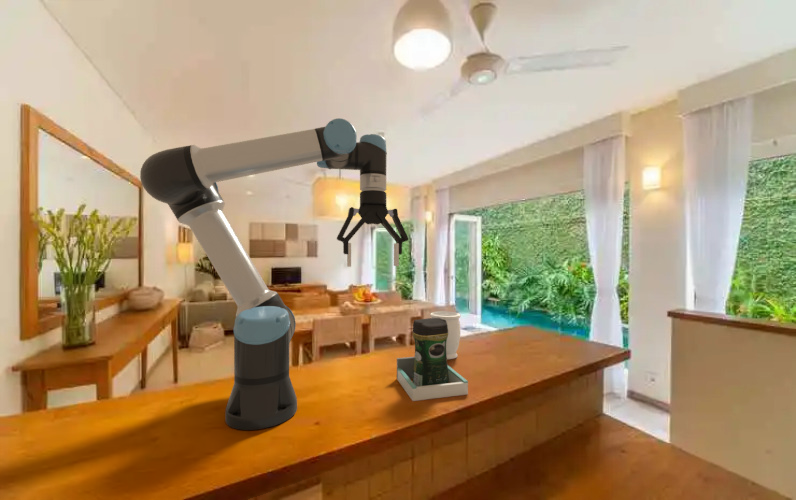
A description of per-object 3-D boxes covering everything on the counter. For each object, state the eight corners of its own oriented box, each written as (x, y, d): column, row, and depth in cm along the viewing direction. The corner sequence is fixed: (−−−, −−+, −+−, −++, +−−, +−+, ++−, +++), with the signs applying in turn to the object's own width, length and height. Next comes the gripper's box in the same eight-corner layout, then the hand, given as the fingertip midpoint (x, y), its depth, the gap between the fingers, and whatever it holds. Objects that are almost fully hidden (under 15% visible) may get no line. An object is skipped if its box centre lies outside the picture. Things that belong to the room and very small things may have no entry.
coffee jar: (438, 378, 99) (438, 314, 99) (453, 388, 91) (453, 319, 91) (408, 383, 95) (408, 317, 95) (421, 394, 87) (421, 322, 87)
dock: (412, 401, 84) (412, 376, 84) (396, 378, 98) (396, 358, 98) (467, 394, 88) (467, 371, 88) (444, 373, 102) (444, 354, 102)
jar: (464, 354, 121) (464, 312, 121) (453, 362, 112) (453, 317, 112) (437, 350, 127) (437, 310, 127) (424, 357, 118) (424, 314, 118)
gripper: (329, 186, 90) (329, 267, 90) (419, 191, 96) (419, 266, 96) (327, 191, 97) (327, 266, 97) (411, 195, 103) (411, 265, 103)
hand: (373, 266), depth 96 cm, fingers open, 13 cm apart
